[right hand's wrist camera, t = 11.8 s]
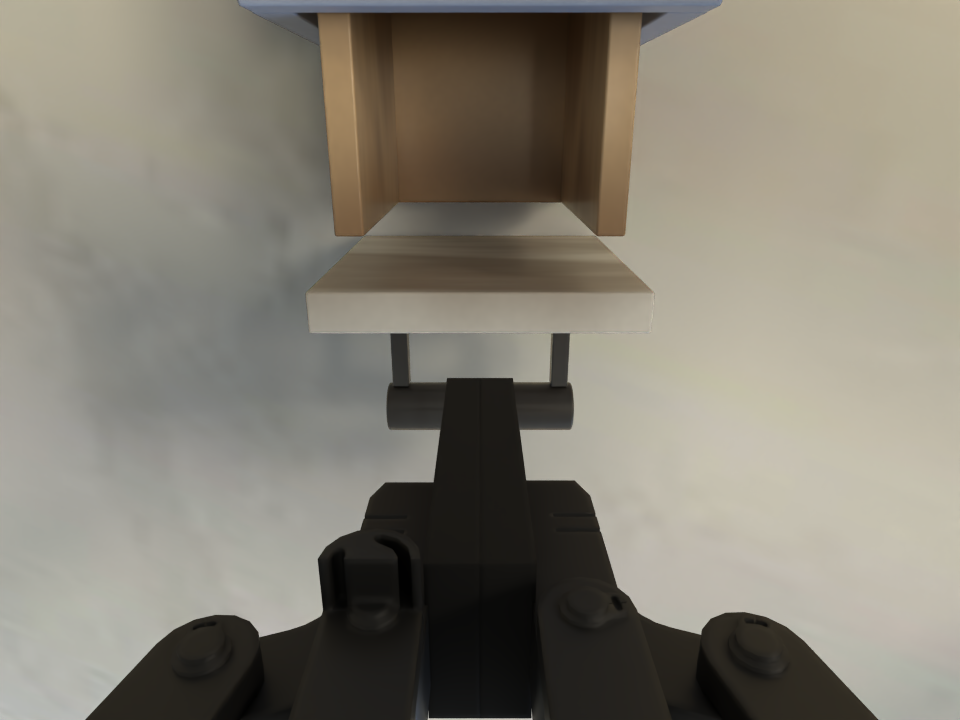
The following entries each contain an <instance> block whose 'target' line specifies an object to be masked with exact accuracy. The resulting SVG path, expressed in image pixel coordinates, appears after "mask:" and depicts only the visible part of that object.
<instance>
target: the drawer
mask: <svg viewBox="0 0 960 720" xmlns="http://www.w3.org/2000/svg"><path fill="white" fill-rule="evenodd" d="M317 16H318V28H319V41H320V53H321V66H322V79H323V91H324V104H325V117H326V129H327V142H328V155H329V167H330V180H331V192H332V205H333V218H334V230H335V235H336V236H364V235H365V234H366V233H367V232H368V231H369V230H370V229H371V228H372V227H373V226H374V225H375V224H376V223H377V222H379V221H380V220H381V219H382V218H383V217H384V216H385V215H386V214H387V213H388V212H389V211H390V210H391V209H392V208H393V207H394V206H395V205H396V204H397V203H398V202H562V203H563V204H564V205H565V206H566V207H567V208H568V209H569V210H570V211H571V212H572V213H573V214H574V215H575V216H577V217H578V218H579V219H580V220H581V221H582V222H583V223H584V224H585V225H586V226H587V227H588V228H589V229H590V230H591V231H592V232H593V233H594V234H596V235H597V236H624V235H625V230H626V217H627V204H628V191H629V179H630V166H631V153H632V140H633V127H634V115H635V102H636V89H637V76H638V63H639V51H640V38H641V25H642V12H448V13H317ZM305 295H306V305H307V315H308V326H309V332H310V333H390V335H391V354H392V374H393V382H392V383H390V384H389V387H388V392H387V423H388V427H389V429H390V430H441V422H442V415H443V407H444V399H445V391H446V384H447V382H410V381H411V376H410V352H409V333H551V355H550V382H513V384H514V391H515V399H516V407H517V415H518V422H519V430H570V429H571V428H572V424H573V415H574V400H573V390H572V386H571V383H569V382H567V379H568V359H569V339H570V333H650V332H651V327H652V317H653V306H654V296H655V294H654V292H653V291H652V290H651V289H650V288H649V287H648V286H647V285H646V284H645V283H644V282H643V281H642V280H641V279H640V278H639V277H637V276H636V275H635V274H634V273H633V272H632V271H631V270H630V269H629V268H628V267H627V266H626V265H625V264H624V263H623V262H622V261H621V260H620V259H619V258H618V257H617V256H616V255H615V254H614V253H613V252H611V251H610V250H609V249H608V248H607V247H606V246H605V245H604V244H603V243H602V242H601V241H600V240H599V239H598V238H597V237H596V236H364V237H363V238H362V239H361V240H360V241H359V242H358V243H357V244H356V245H355V246H354V247H353V248H352V249H351V250H350V251H349V252H348V253H347V254H346V255H345V256H344V257H343V258H341V259H340V260H339V261H338V262H337V263H336V264H335V265H334V266H333V267H332V268H331V269H330V270H329V271H328V272H327V273H326V274H325V275H324V276H323V277H322V278H321V279H320V280H319V281H318V282H317V283H316V284H314V285H313V286H312V287H311V288H310V289H309V290H308V291H307V292H306V294H305Z"/></svg>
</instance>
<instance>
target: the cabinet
mask: <svg viewBox="0 0 960 720" xmlns="http://www.w3.org/2000/svg"><path fill="white" fill-rule="evenodd" d="M238 3H239V5H240V6H242V7H244V8H246V9H248V10H250V11H252V12H253V13H254V14H256V15H258V16H260V17H262V18H264V19H266V20H268V21H270V22H272V23H274V24H276V25H278V26H281V27H283V28H285V29H287V30H289V31H291V32H293V33H295V34H297V35H299V36H301V37H303V38H305V39H307V40H309V41H311V42H313V43H315V44H317V45H319V46H320V41H319V28H318V16H317V13H448V12H642V25H641V38H640V45H642V44H644V43H646V42H648V41H650V40H652V39H654V38H656V37H658V36H660V35H662V34H664V33H666V32H668V31H670V30H672V29H674V28H676V27H678V26H680V25H682V24H684V23H686V22H689V21H691V20H693V19H695V18H697V17H699V16H701V15H703V14H705V13H707V11H710V10H712V9H714V8H716V7H718V6H720V5H721V3H722V0H238Z"/></svg>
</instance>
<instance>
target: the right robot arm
mask: <svg viewBox="0 0 960 720" xmlns="http://www.w3.org/2000/svg"><path fill="white" fill-rule="evenodd" d="M318 566H319V575H320V585H321V594H322V604H323V613H322V616H320V617H319V618H317V619H315V620H313V621H312V622H310V623H308V624H306V625H303V626H300V627H297V628H294V629H291V630H288V631H284V632H280V633H276V634H272V635H267V636H263V637H259V634H258V631H257V630H256V629H255V628H254V626H253V625H252V624H251V623H250V621H247V620H245V619H242V618H240V617H237V616H235V615H213V616H209V617H205V618H200V619H196V620H193V621H191V622H189V623H187V624H185V625H183V626H181V627H179V628H177V629H175V630H173V631H172V632H171V633H169V634H168V635H167V636H166V637H164V638H163V639H162V640H161V641H160V642H158V643H157V644H156V645H155V646H154V647H153V648H152V649H151V650H150V652H149V653H148V654H147V655H146V656H145V657H144V658H143V659H142V660H141V661H140V662H139V663H138V664H137V665H136V666H135V668H134V669H133V670H132V671H131V672H130V673H129V674H128V675H127V676H126V677H125V678H124V679H123V680H122V681H121V682H120V683H119V685H118V686H117V687H116V688H115V689H114V690H113V691H112V692H111V693H110V694H109V695H108V696H107V697H106V698H105V699H104V700H103V702H102V703H101V704H100V705H99V706H98V707H97V708H96V709H95V710H94V711H93V712H92V713H91V714H90V715H89V716H88V717H87V719H86V720H428V709H429V718H531V709H532V717H533V720H878V719H877V718H876V717H875V716H874V715H873V714H872V712H871V711H870V710H869V709H868V708H867V707H866V706H865V705H864V704H863V703H862V702H861V701H860V700H859V699H858V698H857V697H856V696H855V695H854V693H853V692H852V691H851V690H850V689H849V688H848V687H847V686H846V685H845V684H844V683H843V682H842V681H841V680H840V679H839V678H838V677H837V676H836V674H835V673H834V672H833V671H832V670H831V669H830V668H829V667H828V666H827V665H826V664H825V663H824V662H823V661H822V660H821V659H820V658H819V657H818V655H817V654H816V653H815V652H814V651H813V650H812V649H811V648H810V647H809V646H808V645H807V644H806V643H805V642H804V641H803V640H802V639H801V638H800V637H798V636H797V635H796V634H795V633H793V632H792V631H791V630H790V629H788V628H787V627H785V626H783V625H781V624H779V623H777V622H775V621H773V620H771V619H769V618H767V617H763V616H759V615H755V614H750V613H746V612H737V613H724V614H722V615H719V616H716V617H714V618H711V619H710V620H709V622H708V623H707V624H706V625H705V627H704V628H703V629H702V634H701V635H699V634H695V633H691V632H687V631H683V630H679V629H675V628H671V627H668V626H664V625H661V624H658V623H655V622H653V621H652V620H650V619H648V618H646V617H644V616H642V615H640V614H639V613H638V612H637V609H636V608H635V606H634V604H633V603H632V601H631V599H630V598H629V596H627V595H626V594H625V593H624V592H622V591H621V590H620V589H619V588H617V584H616V581H615V578H614V574H613V571H612V568H611V564H610V561H609V557H608V554H607V551H606V547H605V544H604V541H603V537H602V534H601V532H600V527H599V524H598V521H597V517H595V510H594V507H593V504H592V500H591V497H590V495H589V494H588V493H587V492H586V491H585V490H584V489H583V488H582V487H581V486H580V485H579V484H577V483H576V482H575V481H526V476H525V468H524V461H523V453H522V445H521V438H520V430H519V422H518V415H517V407H516V399H515V391H514V384H513V378H447V384H446V391H445V399H444V407H443V415H442V422H441V430H440V438H439V445H438V453H437V461H436V468H435V476H434V483H385V484H384V485H383V486H382V487H381V488H380V489H378V490H377V491H376V492H375V493H374V494H373V495H372V496H371V497H370V500H369V503H368V506H367V510H366V513H365V519H364V520H363V523H362V527H361V530H360V531H356V532H353V533H350V534H347V535H345V536H342V537H340V538H338V539H337V540H335V541H334V542H332V543H331V544H330V545H328V546H327V547H326V548H325V549H324V551H323V552H322V554H321V555H320V557H319V558H318Z"/></svg>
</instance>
